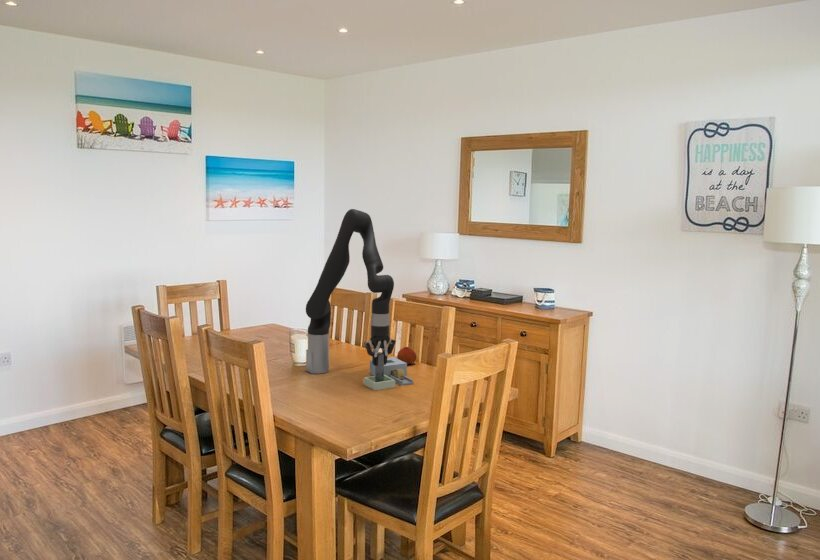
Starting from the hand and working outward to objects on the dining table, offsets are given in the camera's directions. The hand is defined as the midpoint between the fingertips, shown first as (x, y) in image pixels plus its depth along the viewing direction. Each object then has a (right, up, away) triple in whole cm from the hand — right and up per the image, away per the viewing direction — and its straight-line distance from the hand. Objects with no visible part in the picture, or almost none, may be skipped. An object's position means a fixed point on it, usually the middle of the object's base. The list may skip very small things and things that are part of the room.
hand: (379, 364), depth 266 cm
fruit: (+11, -5, +37) cm, 39 cm away
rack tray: (0, -9, +1) cm, 9 cm away
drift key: (+6, -6, +12) cm, 15 cm away
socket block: (+6, -7, +13) cm, 16 cm away
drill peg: (0, -7, +1) cm, 7 cm away
